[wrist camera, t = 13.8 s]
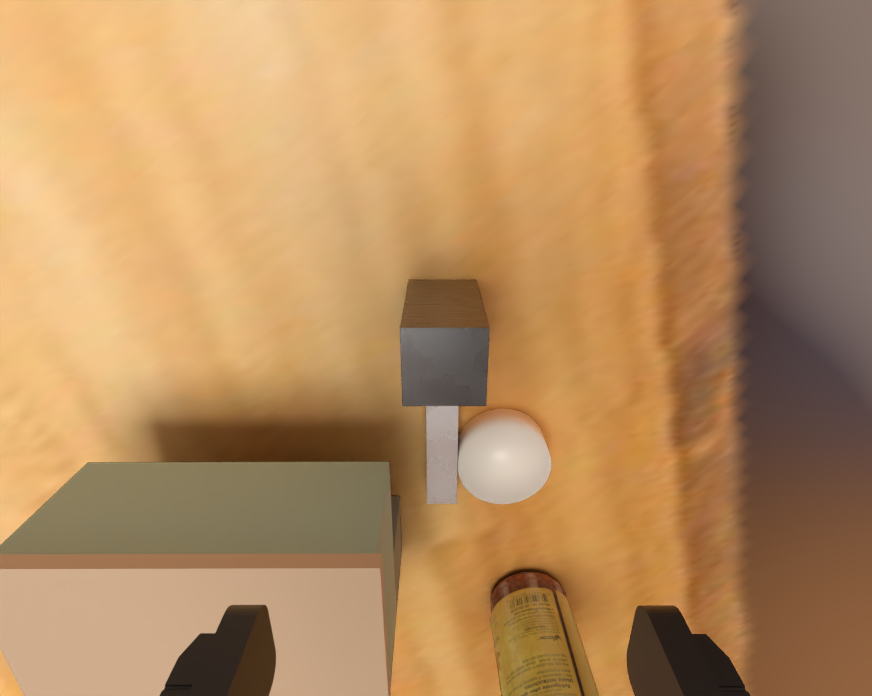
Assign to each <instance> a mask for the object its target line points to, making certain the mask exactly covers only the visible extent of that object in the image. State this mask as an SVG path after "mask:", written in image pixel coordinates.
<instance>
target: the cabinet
mask: <svg viewBox="0 0 872 696" xmlns="http://www.w3.org/2000/svg"><path fill="white" fill-rule="evenodd" d="M401 553H402V541H401V516H400V496H391V488H390V467H389V462H88V463H87V464H86V465H85V466H84V467H82V468H81V469H80V470H79V471H78V472H77V473H76V474H75V475H74V476H73V477H72V478H71V479H70V480H69V481H68V482H67V483H66V484H65V485H63V486H62V487H61V488H60V489H59V490H58V491H57V492H56V493H55V494H54V495H53V496H52V497H51V498H50V499H49V500H48V501H47V502H46V503H44V504H43V505H42V506H41V507H40V508H39V509H38V510H37V511H36V512H35V513H34V514H33V515H32V516H31V517H30V518H29V519H28V520H27V521H25V522H24V523H23V524H22V525H21V526H20V527H19V528H18V529H17V530H16V531H15V532H14V533H13V534H12V535H11V536H10V537H9V538H8V539H6V540H5V541H4V542H3V543H2V544H1V545H0V649H1V651H2V653H3V655H4V657H5V659H6V661H7V663H8V665H9V667H10V669H11V671H12V673H13V675H14V677H15V679H16V681H17V683H18V685H19V687H20V689H21V691H22V693H23V694H24V696H160V694H161V692H162V690H164V688H165V684H166V682H167V680H168V678H169V675H170V673H171V671H172V669H173V667H174V665H175V663H176V661H177V659H178V657H179V656H180V655H181V654H182V653H183V652H184V651H185V649H186V648H187V647H188V646H189V645H190V644H191V643H192V642H193V641H194V640H195V639H196V637H197V636H198V635H199V634H200V633H216V631H217V628H218V626H219V624H220V622H221V619H222V617H223V615H224V613H225V611H226V609H227V608H228V607H229V606H230V605H266V606H267V608H268V612H269V617H270V623H271V628H272V633H273V639H274V644H275V649H276V667H275V674H274V679H273V684H272V687H271V691H270V694H269V696H391V693H390V687H391V674H392V662H393V650H394V638H395V626H396V614H397V601H398V589H399V577H400V565H401Z"/></svg>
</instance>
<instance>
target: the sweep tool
mask: <svg viewBox="0 0 872 696" xmlns="http://www.w3.org/2000/svg"><path fill="white" fill-rule="evenodd" d="M400 344H401V376H402V406H426V447H427V504H457V461H458V410H459V406H486V396H487V373H488V351H489V324H488V321H487V317H486V313H485V310H484V306H483V303H482V299H481V295H480V292H479V288H478V285H477V281H476V280H409V281H408V287H407V292H406V298H405V303H404V309H403V314H402V320H401V325H400Z"/></svg>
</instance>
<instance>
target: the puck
mask: <svg viewBox="0 0 872 696" xmlns="http://www.w3.org/2000/svg"><path fill="white" fill-rule="evenodd" d="M550 471H551V456H550V453H549V450H548V448H547V445H546V442H545V439H544V436H543V433H542V431H541V429H540V427H539V426H538V424H537V423H536V422H535V421H534V420H533V419H532V418H531V417H529V416H528V415H526V414H525V413H522V412H520V411H517V410H513V409H504V408H500V409H492V410H488V411H485V412H483V413H480V414H478V415H477V416H475V417H473V418H472V419H471V420H470V421H469V422H468V423H467V424H466V425H465V426H464V427H463V429H462V430H461V432H460V434H459V437H458V473H459V477H460V480H461V482H462V484H463V485H464V487H465V488H466V489H467V490H468V491H469V492H470V493H471V494H472V495H473V496H475V497H477V498H478V499H480V500H483V501H485V502H489V503H494V504H510V503H516V502H519V501H522V500H525V499H527V498H529V497H531V496H532V495H534V494H535V493H536V492H537V491H539V490H540V489H541V488H542V486H543V485H544V484H545V482H546V481H547V479H548V477H549V474H550Z"/></svg>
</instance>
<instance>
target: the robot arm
mask: <svg viewBox="0 0 872 696" xmlns="http://www.w3.org/2000/svg"><path fill="white" fill-rule="evenodd" d="M275 667H276V649H275V644H274V639H273V633H272V628H271V623H270V617H269V612H268V608H267V606H266V605H230V606H229V607H228V608H227V609H226V611H225V613H224V615H223V617H222V619H221V622H220V624H219V626H218V628H217V631H216V633H200V634H199V635H198V636H197V637H196V639H195V640H194V641H193V642H192V643H191V644H190V645H189V646H188V647H187V648H186V649H185V651H184V652H183V653H182V654H181V655H180V656H179V657H178V659H177V661H176V663H175V665H174V667H173V669H172V671H171V673H170V675H169V678H168V680H167V682H166V684H165V688H164V690H162V692H161V694H160V696H269V694H270V691H271V687H272V684H273V679H274V674H275ZM627 668H628V674H629V679H630V683H631V686H632V689H633V692H634V695H635V696H750V694H749V692H746V690H745V685H744V684H743V682H742V680H741V678H740V676H739V675H738V673H737V671H736V669H735V668H734V666H733V664H732V662H731V660H730V659H729V657H728V656H727V655H726V654H725V653H724V652H723V651H722V650H721V649H720V648H719V647H718V646H717V645H716V644H715V643H714V642H713V641H712V640H711V639H710V638H709V637H708V636H707V635H706V634H692V633H691V631H690V629H689V627H688V626H687V624H686V622H685V620H684V618H683V616H682V614H681V612H680V611H679V609H678V608H677V607H675V606H638V607H637V609H636V612H635V617H634V621H633V626H632V631H631V636H630V640H629V645H628V650H627Z"/></svg>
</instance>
